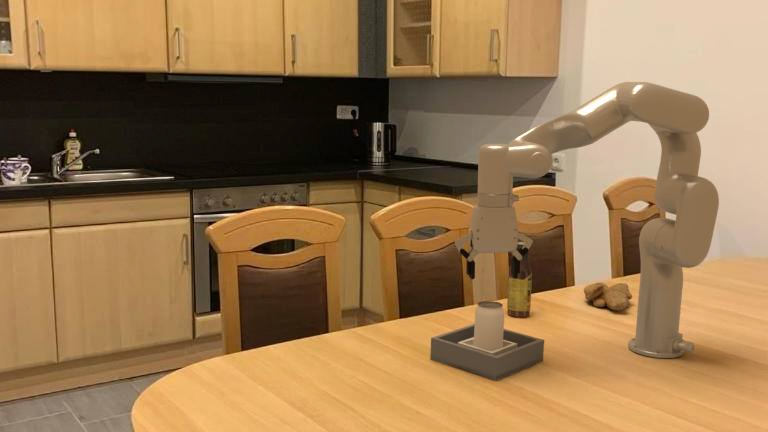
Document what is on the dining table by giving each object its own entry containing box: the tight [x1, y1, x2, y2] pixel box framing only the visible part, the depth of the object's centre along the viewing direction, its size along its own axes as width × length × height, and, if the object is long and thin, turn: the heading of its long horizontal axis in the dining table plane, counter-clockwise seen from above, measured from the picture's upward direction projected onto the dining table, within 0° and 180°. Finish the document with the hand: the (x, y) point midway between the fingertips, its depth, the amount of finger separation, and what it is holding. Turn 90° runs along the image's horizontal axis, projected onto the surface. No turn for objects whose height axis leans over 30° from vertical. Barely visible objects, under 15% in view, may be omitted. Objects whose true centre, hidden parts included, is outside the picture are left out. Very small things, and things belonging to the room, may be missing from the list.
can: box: [474, 300, 505, 352], centre depth 176 cm, size 6×6×12 cm
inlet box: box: [429, 323, 545, 382], centre depth 177 cm, size 18×18×5 cm
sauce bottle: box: [506, 241, 533, 318], centre depth 212 cm, size 7×6×20 cm
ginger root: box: [583, 282, 633, 311], centre depth 226 cm, size 16×16×8 cm
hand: (493, 277), depth 174 cm, fingers open, 9 cm apart
